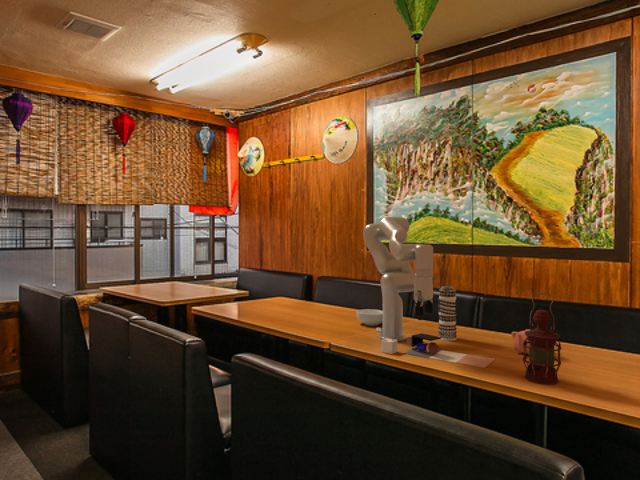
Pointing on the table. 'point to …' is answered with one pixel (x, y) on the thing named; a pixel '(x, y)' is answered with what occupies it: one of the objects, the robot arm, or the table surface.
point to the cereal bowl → (370, 316)
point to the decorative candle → (447, 313)
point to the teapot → (520, 341)
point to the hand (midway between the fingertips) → (424, 314)
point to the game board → (454, 357)
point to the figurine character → (418, 343)
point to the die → (389, 346)
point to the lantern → (542, 349)
